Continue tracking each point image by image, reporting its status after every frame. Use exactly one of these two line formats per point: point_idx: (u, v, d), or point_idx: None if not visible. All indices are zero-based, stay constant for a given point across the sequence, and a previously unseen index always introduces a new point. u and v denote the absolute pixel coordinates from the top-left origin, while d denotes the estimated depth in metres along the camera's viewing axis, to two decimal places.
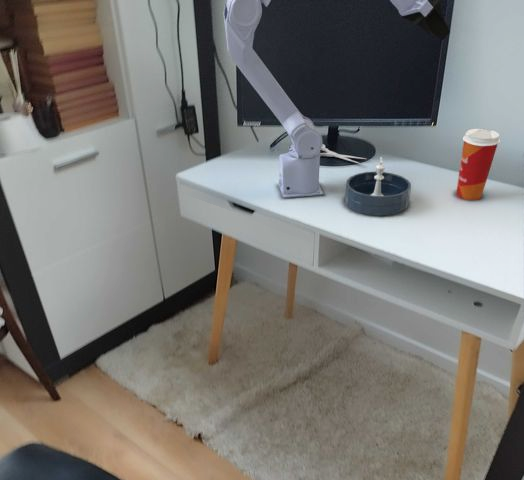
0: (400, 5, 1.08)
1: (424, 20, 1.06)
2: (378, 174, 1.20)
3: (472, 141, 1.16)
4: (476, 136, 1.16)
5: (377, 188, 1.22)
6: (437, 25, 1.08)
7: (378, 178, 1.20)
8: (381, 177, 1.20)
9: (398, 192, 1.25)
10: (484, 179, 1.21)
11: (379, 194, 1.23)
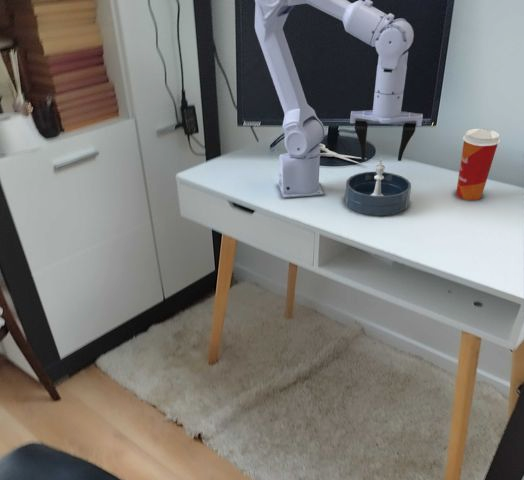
0: None
1: None
2: (378, 174, 1.20)
3: (472, 141, 1.16)
4: (476, 136, 1.16)
5: (377, 188, 1.22)
6: None
7: (378, 178, 1.20)
8: (381, 177, 1.20)
9: (398, 192, 1.25)
10: (484, 179, 1.21)
11: (379, 194, 1.23)
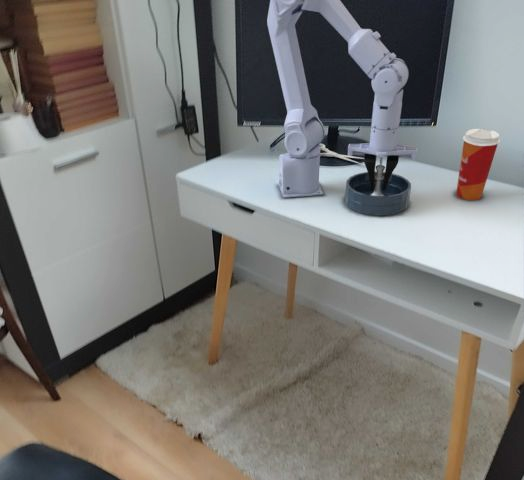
0: None
1: None
2: (378, 174, 1.20)
3: (472, 141, 1.16)
4: (476, 136, 1.16)
5: (377, 188, 1.22)
6: None
7: (378, 178, 1.20)
8: (381, 177, 1.20)
9: (398, 192, 1.25)
10: (484, 179, 1.21)
11: (379, 194, 1.23)
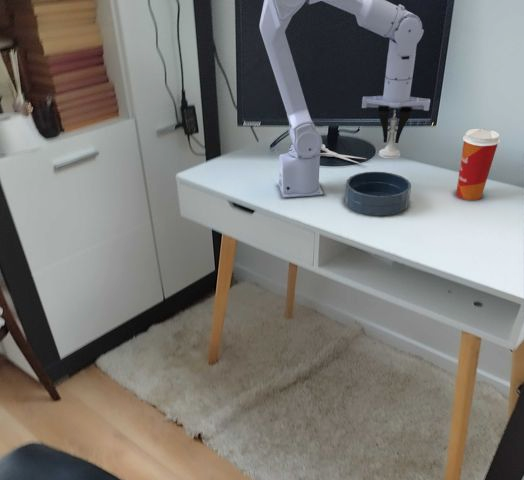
0: None
1: None
2: (391, 126, 1.23)
3: (472, 141, 1.16)
4: (476, 136, 1.16)
5: (390, 141, 1.25)
6: None
7: (391, 130, 1.23)
8: (394, 129, 1.23)
9: (398, 192, 1.25)
10: (484, 179, 1.21)
11: (392, 147, 1.26)
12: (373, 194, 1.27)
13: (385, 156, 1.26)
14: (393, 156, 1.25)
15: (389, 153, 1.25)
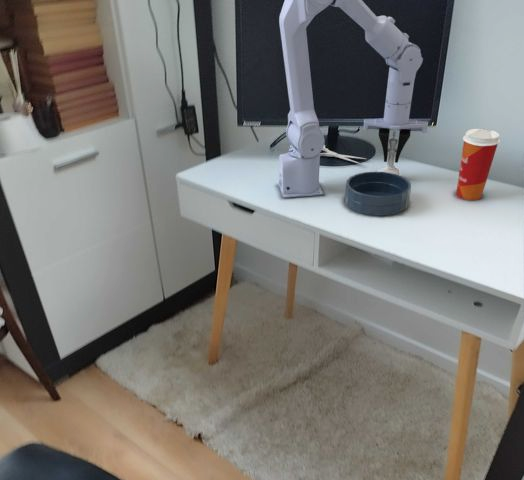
0: None
1: None
2: (391, 147, 1.30)
3: (472, 141, 1.16)
4: (476, 136, 1.16)
5: (390, 161, 1.32)
6: None
7: (391, 151, 1.30)
8: (394, 150, 1.30)
9: (398, 192, 1.25)
10: (484, 179, 1.21)
11: (392, 166, 1.32)
12: (373, 194, 1.27)
13: None
14: None
15: (389, 172, 1.32)
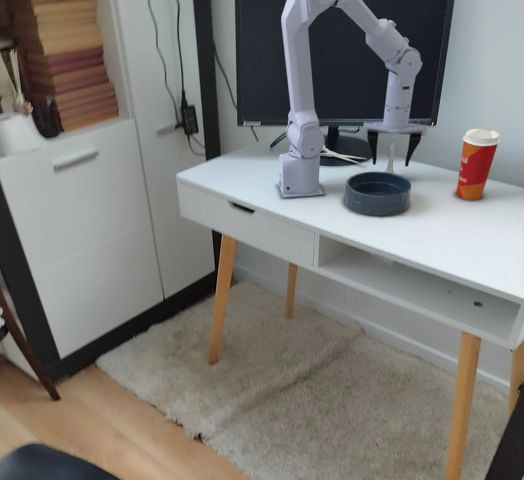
0: None
1: None
2: (390, 152, 1.31)
3: (472, 141, 1.16)
4: (476, 136, 1.16)
5: (389, 166, 1.33)
6: None
7: (390, 156, 1.31)
8: (393, 155, 1.31)
9: (398, 192, 1.25)
10: (484, 179, 1.21)
11: (391, 171, 1.33)
12: (373, 194, 1.27)
13: None
14: None
15: None
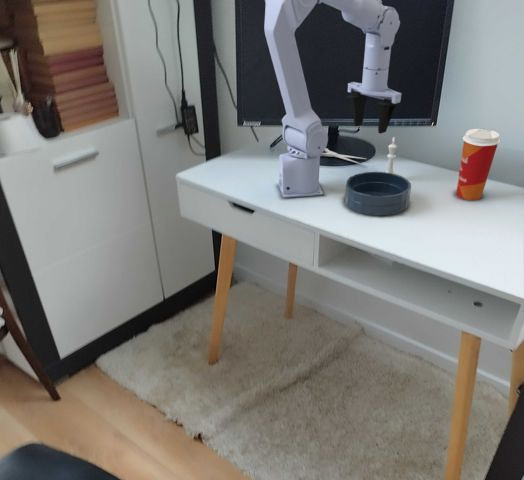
0: (373, 84, 1.24)
1: (389, 106, 1.25)
2: (390, 152, 1.31)
3: (472, 141, 1.16)
4: (476, 136, 1.16)
5: (389, 166, 1.33)
6: (385, 119, 1.28)
7: (390, 156, 1.31)
8: (393, 155, 1.31)
9: (398, 192, 1.25)
10: (484, 179, 1.21)
11: (391, 171, 1.33)
12: (373, 194, 1.27)
13: None
14: None
15: None
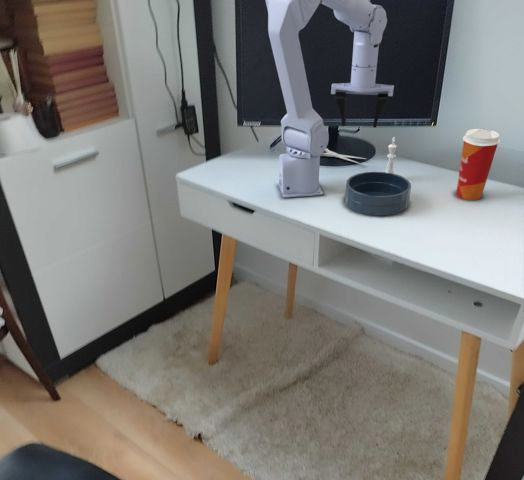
0: (369, 81, 1.26)
1: (386, 100, 1.29)
2: (390, 152, 1.31)
3: (472, 141, 1.16)
4: (476, 136, 1.16)
5: (389, 166, 1.33)
6: None
7: (390, 156, 1.31)
8: (393, 155, 1.31)
9: (398, 192, 1.25)
10: (484, 179, 1.21)
11: (391, 171, 1.33)
12: (373, 194, 1.27)
13: None
14: None
15: None
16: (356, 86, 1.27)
